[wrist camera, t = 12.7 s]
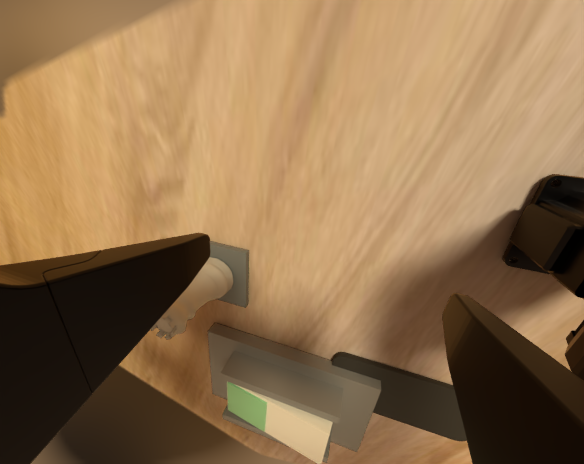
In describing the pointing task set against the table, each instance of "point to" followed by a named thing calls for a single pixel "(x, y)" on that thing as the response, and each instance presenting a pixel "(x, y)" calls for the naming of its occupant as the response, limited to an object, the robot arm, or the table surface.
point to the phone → (410, 397)
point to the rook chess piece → (195, 297)
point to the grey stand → (292, 383)
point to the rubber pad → (234, 271)
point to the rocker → (281, 421)
